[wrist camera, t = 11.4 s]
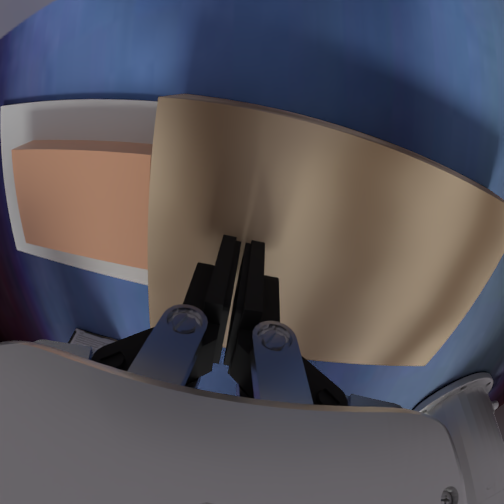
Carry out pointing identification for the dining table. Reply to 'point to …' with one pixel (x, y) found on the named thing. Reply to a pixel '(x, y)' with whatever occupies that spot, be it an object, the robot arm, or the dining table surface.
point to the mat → (73, 128)
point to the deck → (320, 227)
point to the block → (85, 197)
